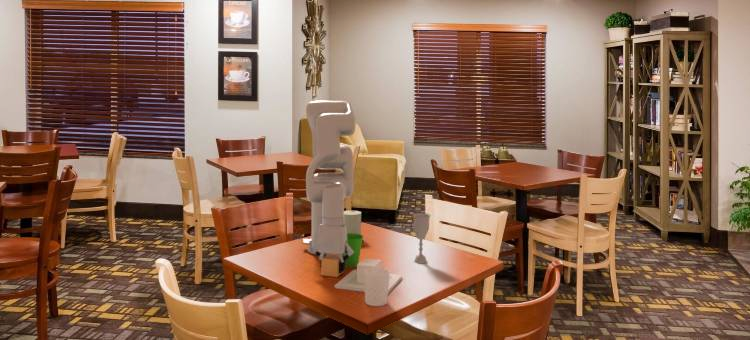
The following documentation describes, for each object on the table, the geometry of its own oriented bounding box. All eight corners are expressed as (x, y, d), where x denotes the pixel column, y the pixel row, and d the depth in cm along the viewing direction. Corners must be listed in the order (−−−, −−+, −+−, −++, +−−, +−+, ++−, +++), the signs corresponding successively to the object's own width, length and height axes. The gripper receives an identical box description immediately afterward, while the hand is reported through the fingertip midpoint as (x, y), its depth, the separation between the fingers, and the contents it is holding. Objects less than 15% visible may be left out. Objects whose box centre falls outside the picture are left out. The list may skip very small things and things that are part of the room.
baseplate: (334, 288, 201) (334, 284, 201) (353, 272, 218) (353, 269, 218) (386, 294, 196) (387, 291, 196) (402, 278, 213) (402, 274, 213)
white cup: (373, 296, 194) (373, 265, 193) (393, 301, 190) (394, 270, 188) (358, 303, 188) (358, 272, 186) (379, 309, 183) (380, 276, 182)
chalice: (428, 264, 229) (429, 217, 226) (410, 263, 230) (411, 216, 228) (430, 259, 236) (431, 213, 234) (412, 258, 237) (414, 212, 235)
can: (363, 236, 270) (363, 210, 268) (358, 241, 261) (358, 214, 259) (343, 235, 272) (343, 208, 270) (337, 240, 263) (337, 212, 261)
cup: (366, 263, 230) (366, 234, 228) (358, 269, 221) (358, 240, 220) (344, 260, 233) (344, 232, 231) (335, 267, 224) (335, 237, 223)
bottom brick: (356, 282, 204) (357, 264, 203) (364, 275, 212) (365, 258, 211) (373, 284, 202) (374, 266, 201) (381, 277, 210) (381, 260, 209)
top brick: (321, 275, 214) (321, 258, 213) (328, 270, 220) (328, 253, 219) (337, 277, 212) (337, 260, 211) (343, 271, 218) (343, 255, 217)
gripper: (305, 221, 212) (305, 271, 215) (352, 225, 207) (351, 277, 209) (314, 216, 219) (314, 265, 222) (359, 220, 214) (359, 270, 216)
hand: (332, 270), depth 216 cm, fingers closed on top brick, 6 cm apart
